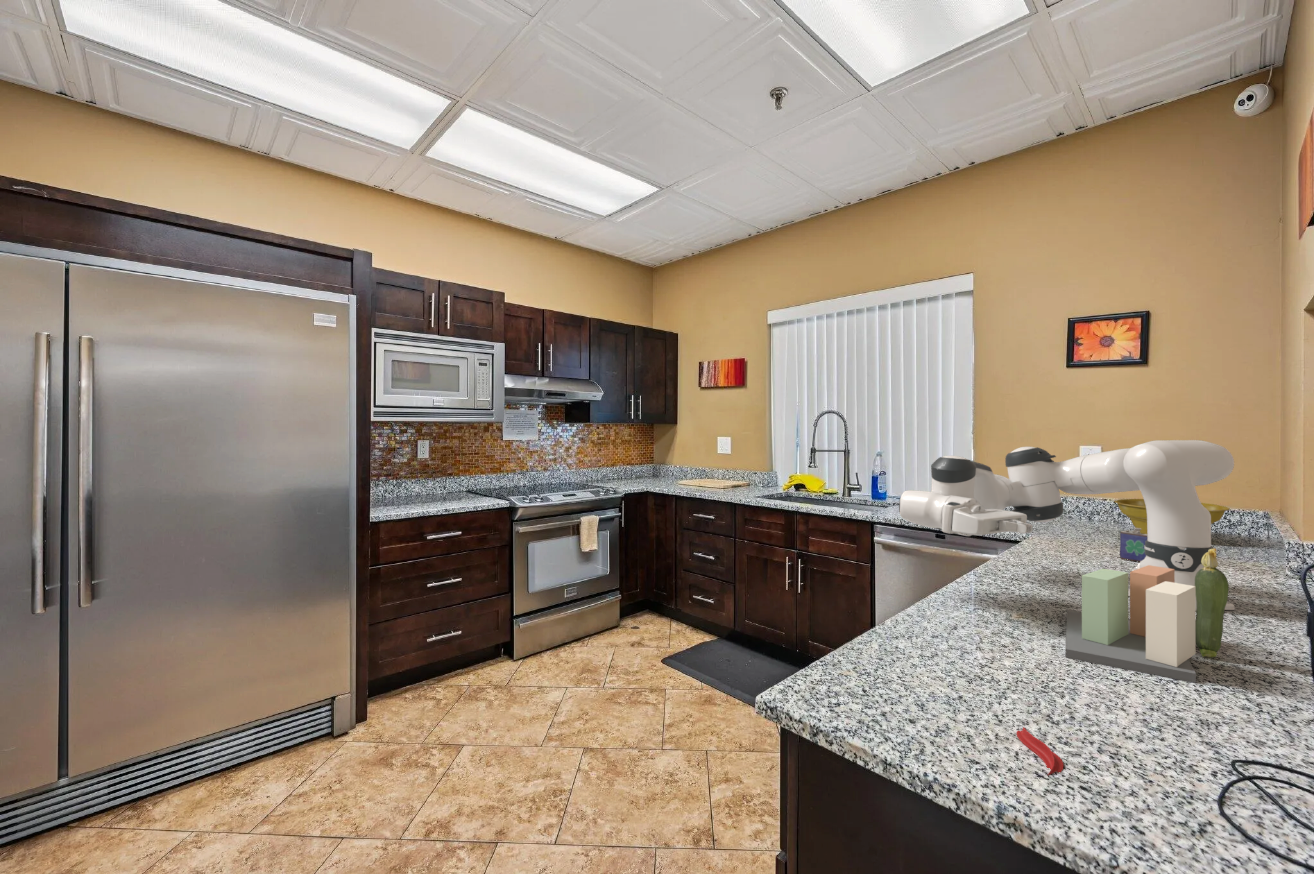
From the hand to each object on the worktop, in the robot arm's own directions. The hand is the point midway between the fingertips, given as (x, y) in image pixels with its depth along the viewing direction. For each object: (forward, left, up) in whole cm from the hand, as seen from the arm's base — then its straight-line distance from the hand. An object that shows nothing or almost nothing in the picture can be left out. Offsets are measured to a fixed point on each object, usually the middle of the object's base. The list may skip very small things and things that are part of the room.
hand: (1029, 529), depth 116 cm
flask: (-89, +23, -21) cm, 95 cm away
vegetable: (+1, +27, -21) cm, 34 cm away
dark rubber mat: (+3, +15, -20) cm, 25 cm away
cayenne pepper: (+55, +4, -21) cm, 59 cm away
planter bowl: (-146, +36, -21) cm, 152 cm away
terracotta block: (-4, +20, -19) cm, 28 cm away
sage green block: (+5, +12, -19) cm, 23 cm away
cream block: (+10, +21, -19) cm, 30 cm away
